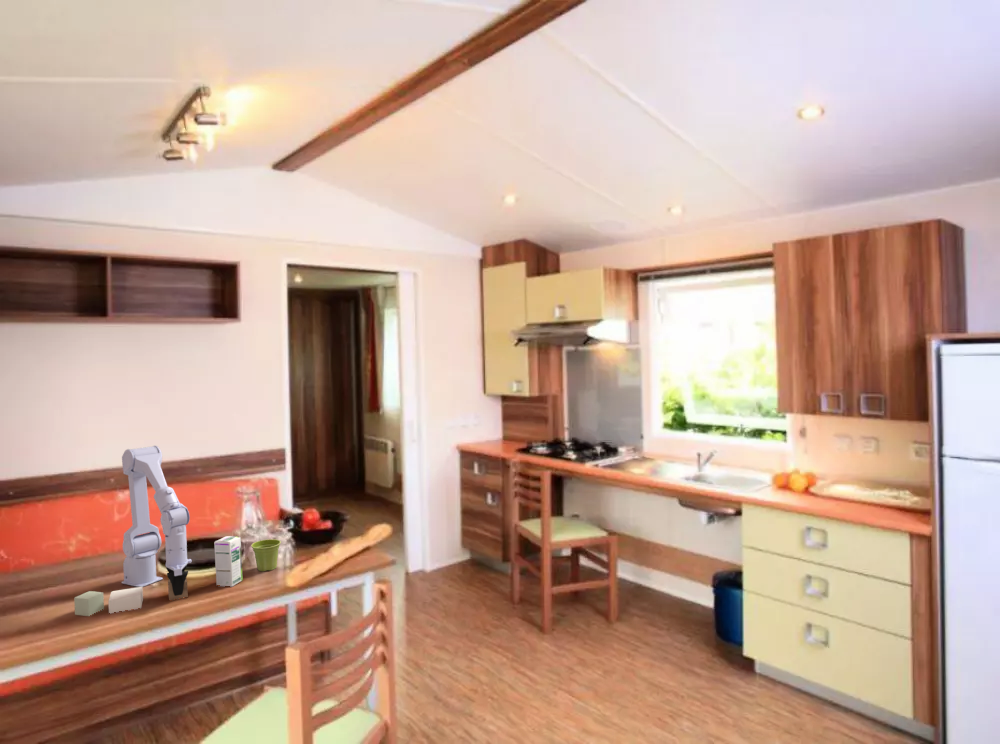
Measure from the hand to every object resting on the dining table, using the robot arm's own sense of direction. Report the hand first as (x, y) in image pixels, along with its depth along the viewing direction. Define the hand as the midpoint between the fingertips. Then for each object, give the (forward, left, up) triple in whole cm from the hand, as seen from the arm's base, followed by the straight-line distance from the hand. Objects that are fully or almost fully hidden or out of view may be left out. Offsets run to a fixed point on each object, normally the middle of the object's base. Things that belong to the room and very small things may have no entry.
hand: (177, 591), depth 196 cm
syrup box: (+6, +14, -2) cm, 15 cm away
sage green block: (-14, -18, -2) cm, 23 cm away
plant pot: (+7, +29, -2) cm, 30 cm away
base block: (-8, -11, -2) cm, 14 cm away
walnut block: (0, 0, -1) cm, 1 cm away
